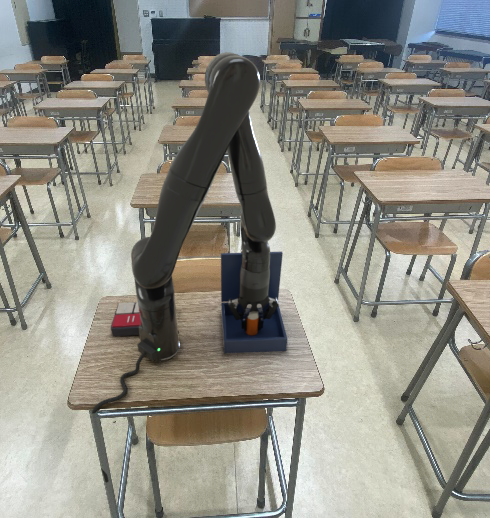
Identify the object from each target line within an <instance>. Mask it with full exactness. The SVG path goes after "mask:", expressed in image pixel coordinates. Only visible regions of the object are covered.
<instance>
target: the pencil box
mask: <svg viewBox="0 0 490 518" xmlns="http://www.w3.org/2000/svg"><path fill="white" fill-rule="evenodd" d="M278 304H279V302H278ZM268 306H269V303H268V304H267V305H266V306H265V307H264V308H263V309H262V310H263V312H265V311H266V309H267V308H268ZM237 309H238V311H239V313H242V310H243V307H242V306H241V305H240V304H239V303H238V304H237ZM220 311H221V312H220V314H221V315H220V316H221V328H222V329H221V330H222V344H223V354H248V353H251V354H252V353H275V352H276V353H277V352H278V353H279V352H287V349H288V348H287V346H288V336H287V331H286V328H285V324H284V320H283V315H282V311H281V308H280V304H279V305H278V307H277V309H276V310H275V312H274V314H273V315H272V317H271V318H270V319H264V322H263V328H261V330H258V333H257V334H256V335H253V336H251V335H248V334H247V333H246V331H244V329H242V328H241V320H240V319H239V320H236V319H235V317H234V315H233V313H232V311H231V310H230V308H229V302H221V303H220Z"/></svg>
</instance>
